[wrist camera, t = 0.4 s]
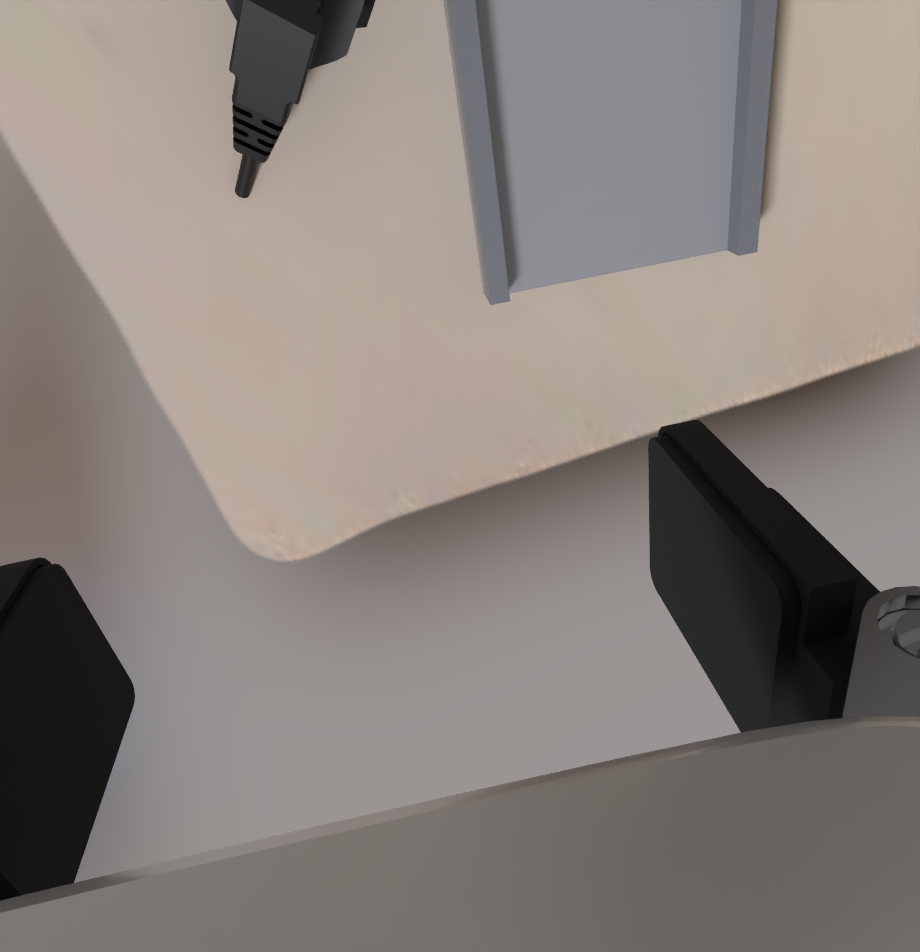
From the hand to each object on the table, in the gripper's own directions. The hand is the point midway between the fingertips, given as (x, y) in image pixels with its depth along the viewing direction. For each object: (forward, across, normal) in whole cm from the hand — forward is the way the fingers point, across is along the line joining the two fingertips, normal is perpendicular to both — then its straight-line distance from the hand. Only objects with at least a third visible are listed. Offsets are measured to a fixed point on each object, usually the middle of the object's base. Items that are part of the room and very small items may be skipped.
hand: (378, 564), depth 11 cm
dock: (+26, -13, -5) cm, 30 cm away
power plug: (+27, +2, -8) cm, 28 cm away
